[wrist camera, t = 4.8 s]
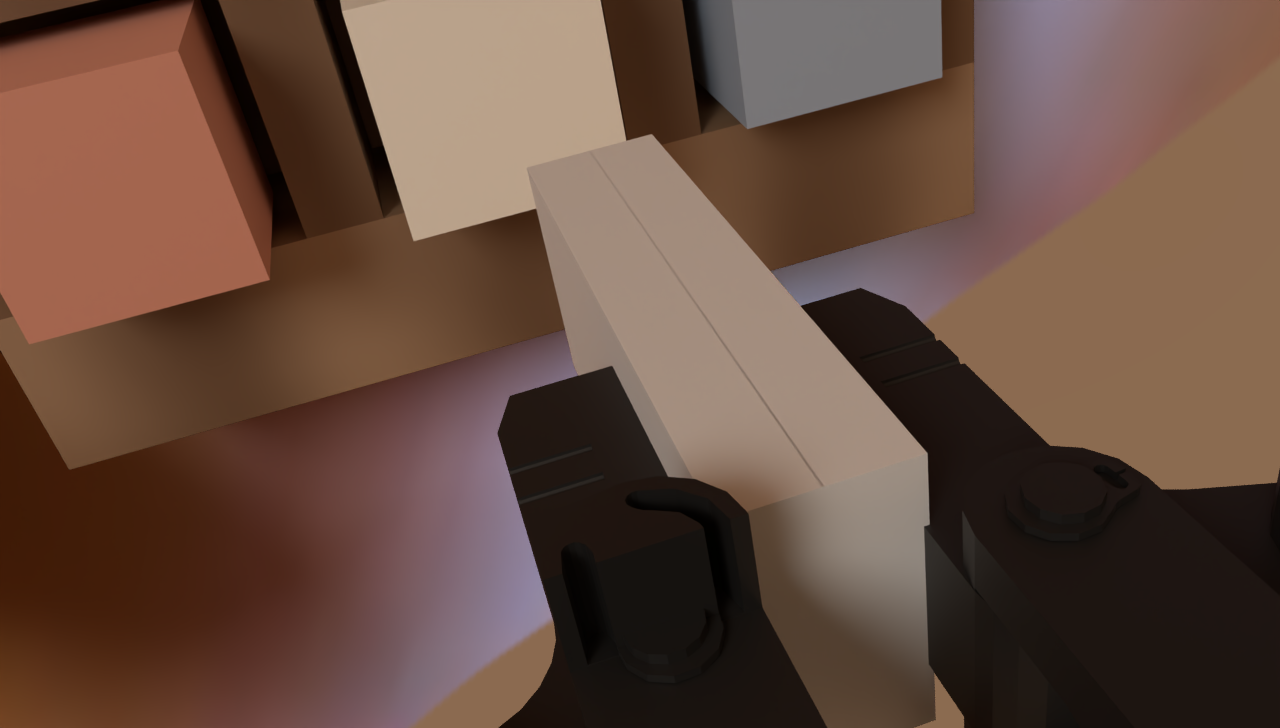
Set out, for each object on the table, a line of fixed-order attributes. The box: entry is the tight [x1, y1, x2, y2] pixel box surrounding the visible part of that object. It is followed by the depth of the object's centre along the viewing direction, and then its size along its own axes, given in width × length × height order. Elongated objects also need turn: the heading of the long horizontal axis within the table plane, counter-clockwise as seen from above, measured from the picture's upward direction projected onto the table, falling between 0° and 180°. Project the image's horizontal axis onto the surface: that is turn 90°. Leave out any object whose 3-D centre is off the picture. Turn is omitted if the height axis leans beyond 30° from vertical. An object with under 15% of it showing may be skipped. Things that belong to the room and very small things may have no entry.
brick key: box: [0, 0, 273, 344], centre depth 19 cm, size 4×4×4 cm
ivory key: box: [340, 0, 626, 241], centre depth 20 cm, size 4×4×4 cm
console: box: [0, 0, 974, 470], centre depth 23 cm, size 20×12×5 cm, turn 100°
